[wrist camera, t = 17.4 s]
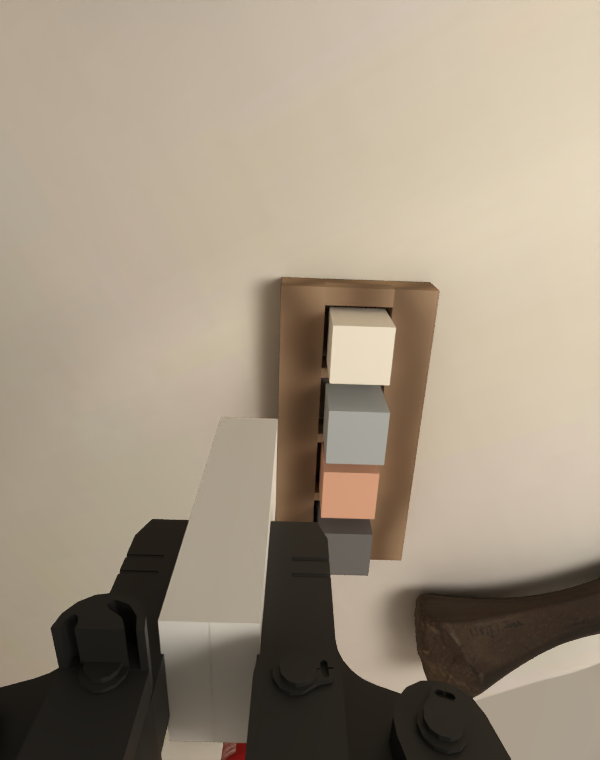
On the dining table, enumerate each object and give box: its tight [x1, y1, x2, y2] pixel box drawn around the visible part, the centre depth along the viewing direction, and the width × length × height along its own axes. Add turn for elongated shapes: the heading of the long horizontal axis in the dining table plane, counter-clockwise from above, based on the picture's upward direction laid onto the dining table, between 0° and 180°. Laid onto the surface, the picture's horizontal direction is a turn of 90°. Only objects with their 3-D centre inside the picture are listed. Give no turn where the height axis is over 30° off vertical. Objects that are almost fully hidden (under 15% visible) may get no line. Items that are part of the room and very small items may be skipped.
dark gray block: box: [317, 500, 373, 576], centre depth 46 cm, size 4×4×5 cm
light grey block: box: [323, 383, 390, 465], centre depth 40 cm, size 4×4×5 cm
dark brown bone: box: [415, 578, 600, 698], centre depth 51 cm, size 11×10×28 cm
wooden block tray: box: [276, 277, 440, 560], centre depth 45 cm, size 12×26×3 cm, turn 178°
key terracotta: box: [319, 442, 380, 519], centre depth 44 cm, size 4×4×5 cm
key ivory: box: [326, 307, 396, 385], centre depth 39 cm, size 4×4×5 cm
